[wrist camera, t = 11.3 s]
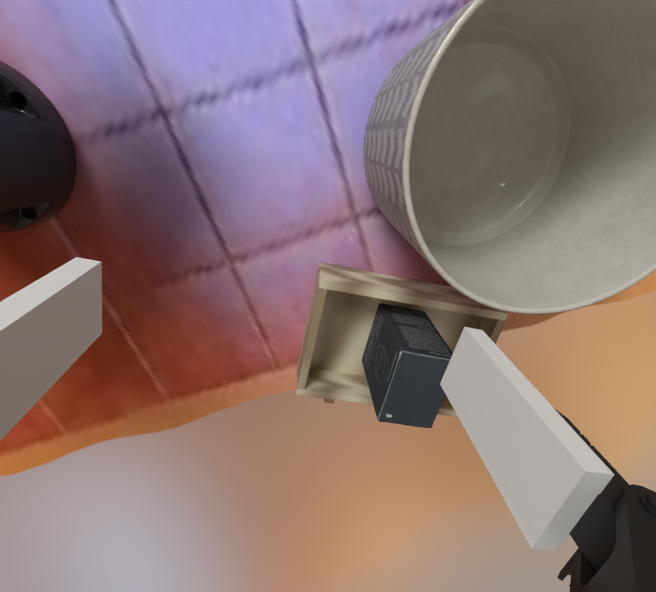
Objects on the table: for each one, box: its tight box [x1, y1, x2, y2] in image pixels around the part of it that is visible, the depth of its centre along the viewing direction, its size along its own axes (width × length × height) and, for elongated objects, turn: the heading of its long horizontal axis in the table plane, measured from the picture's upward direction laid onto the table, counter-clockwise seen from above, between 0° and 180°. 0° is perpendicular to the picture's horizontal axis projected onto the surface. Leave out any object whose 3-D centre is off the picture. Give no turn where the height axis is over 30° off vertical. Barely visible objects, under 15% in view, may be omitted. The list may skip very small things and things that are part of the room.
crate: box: [296, 262, 508, 417], centre depth 42 cm, size 20×14×6 cm
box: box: [362, 303, 453, 428], centre depth 38 cm, size 8×6×11 cm
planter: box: [364, 0, 656, 314], centre depth 28 cm, size 19×19×18 cm
